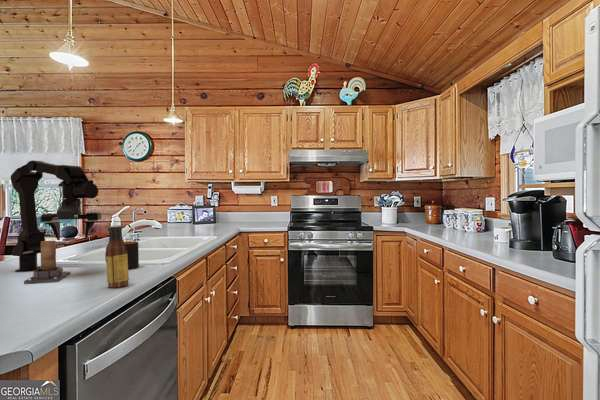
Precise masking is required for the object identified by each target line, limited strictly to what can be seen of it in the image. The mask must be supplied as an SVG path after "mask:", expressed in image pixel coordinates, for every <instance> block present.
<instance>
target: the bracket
mask: <svg viewBox="0 0 600 400" xmlns="http://www.w3.org/2000/svg"><path fill="white" fill-rule="evenodd" d="M63 270H64V268H63V267H61V266H56V270H51V271H41V267H40V268H38V269H36V270H32V274H33V275H32V276H31V277H30V278H28V279H25V280H24V281H23V284H24V285H33V284H47V283H59V282H60V281H63V278H64V279H65V278H67V277H68V276H70V275H71V271H66V270H65V271H63ZM66 276H67V277H66Z"/></svg>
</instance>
